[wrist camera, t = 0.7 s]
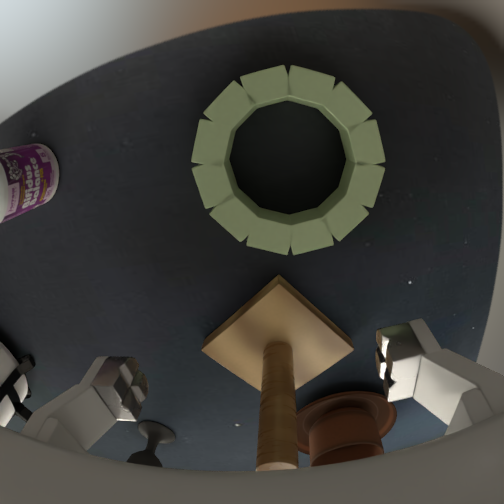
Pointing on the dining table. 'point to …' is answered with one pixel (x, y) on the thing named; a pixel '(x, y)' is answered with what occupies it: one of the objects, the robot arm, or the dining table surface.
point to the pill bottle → (26, 179)
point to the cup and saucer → (344, 427)
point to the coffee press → (13, 385)
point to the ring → (305, 222)
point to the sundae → (151, 443)
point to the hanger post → (277, 361)
